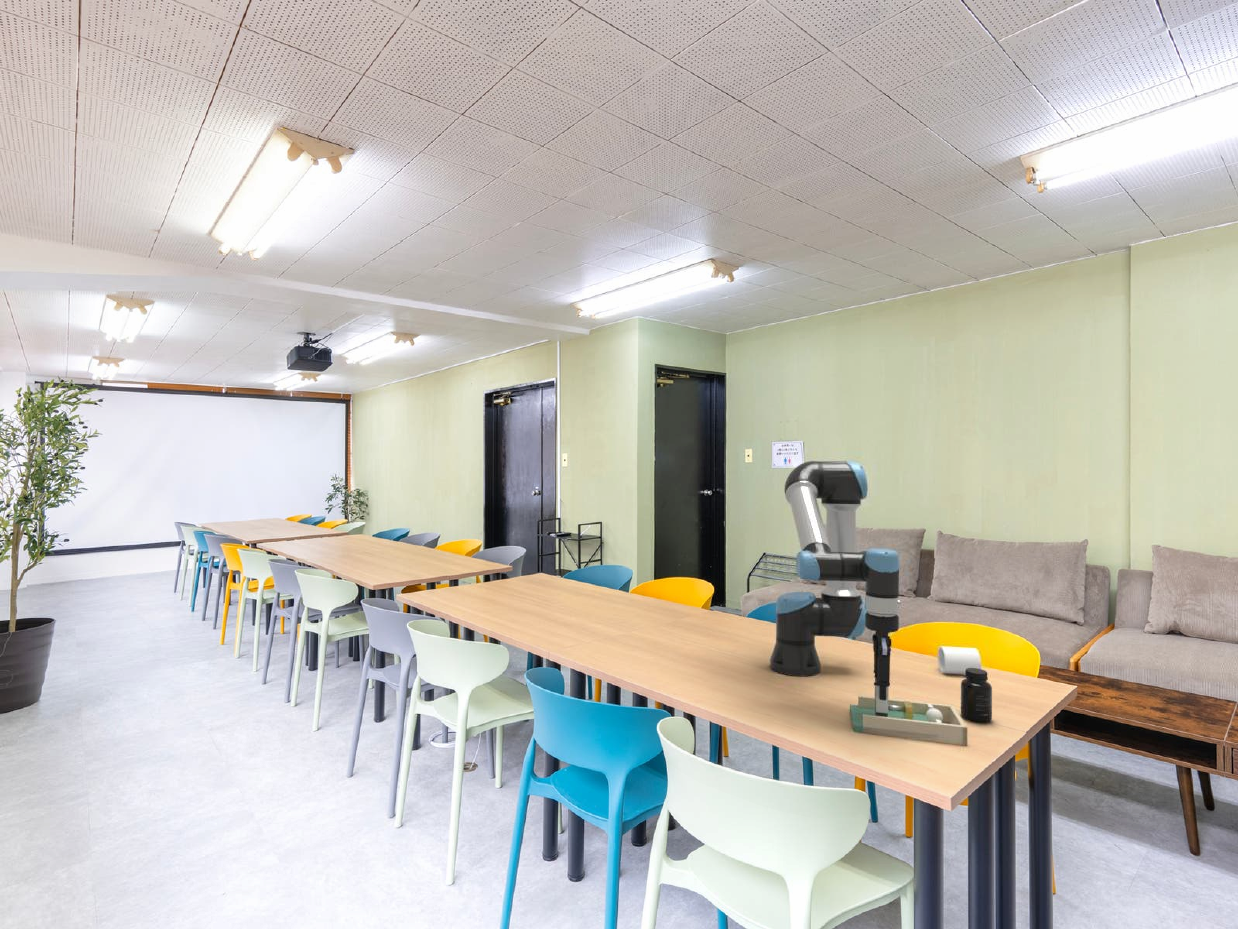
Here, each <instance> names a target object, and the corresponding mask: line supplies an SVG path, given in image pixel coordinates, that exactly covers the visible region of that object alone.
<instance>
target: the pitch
mask: <svg viewBox="0 0 1238 929" xmlns="http://www.w3.org/2000/svg"><path fill="white" fill-rule="evenodd" d="M857 700H858V701H857V704H849V712H850V718H851V723H852V729H853V732H854V733H860V734H868V735H869V734H870V735H878V736H884V737H885V736H886V737H895V738H903V739H910V740H912V739H913V740H918V741H927V742H937V743H944V744H952V745H960V746H968V726H967V724H966V723H965V721H964V720H963V717H962V716H961V714H960V713H959V712H958V710H957V709H956V707H955V706H954V705H953V704H943V703H934V702H933V703H932V702H925V701H916V700H915V701H913V700H908V701H909V702H911V704H912V706H913V720H909V719H904V717H903V712H901V711H892V710H888V717H882V716H876V715H875V696H866V695H857ZM903 701H907V700H906V699H905V700H904V699H897V698H895V699H894V698H888V705H894V706H903ZM932 708H934V709H937V710H939V711H940V712H941V713H942V716H943V720H942V722H941V720H937V719H935V722H929V721H928V720H927V718H926V712H927V711H928V710H929V709H932Z"/></svg>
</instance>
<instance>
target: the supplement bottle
mask: <svg viewBox="0 0 1238 929" xmlns="http://www.w3.org/2000/svg"><path fill="white" fill-rule="evenodd" d="M964 677H965V678H963V679H962V680H961V682H960V717H961V718H962V719H964V720H965V721H969V722H972V723H976V724H988V723H991V721H992V719H993V686H992V685H991V683H990V682H988V680H989V677H988V671H986V670H985V669H982V668H981V669H978V668H967V669H966V670H965V675H964Z"/></svg>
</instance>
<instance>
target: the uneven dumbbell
mask: <svg viewBox="0 0 1238 929" xmlns="http://www.w3.org/2000/svg"><path fill="white" fill-rule="evenodd" d="M874 682H876V683H877V677H874ZM874 697H875V715H876V716H882V717H888V713H880V712H876V685H874ZM909 701H910V700H906V701H903V706H894V705H888V710H892V711H901V712H903V717H904V719H909V720H913V706H912V704H911V702H909Z"/></svg>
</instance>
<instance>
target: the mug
mask: <svg viewBox="0 0 1238 929" xmlns="http://www.w3.org/2000/svg"><path fill="white" fill-rule="evenodd" d="M979 652H980V651H979V650H978V649H977V648H976V647H961V646H960V647H957V646H943V645H941V646H939V647H938V650H937V664H938V668H939V671H940V672H941V674H946V675H948V674H949V675H961V676H962V675H963V676H965V670H966V669H967V668H978V669H982V660H981V655H980V653H979Z"/></svg>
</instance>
